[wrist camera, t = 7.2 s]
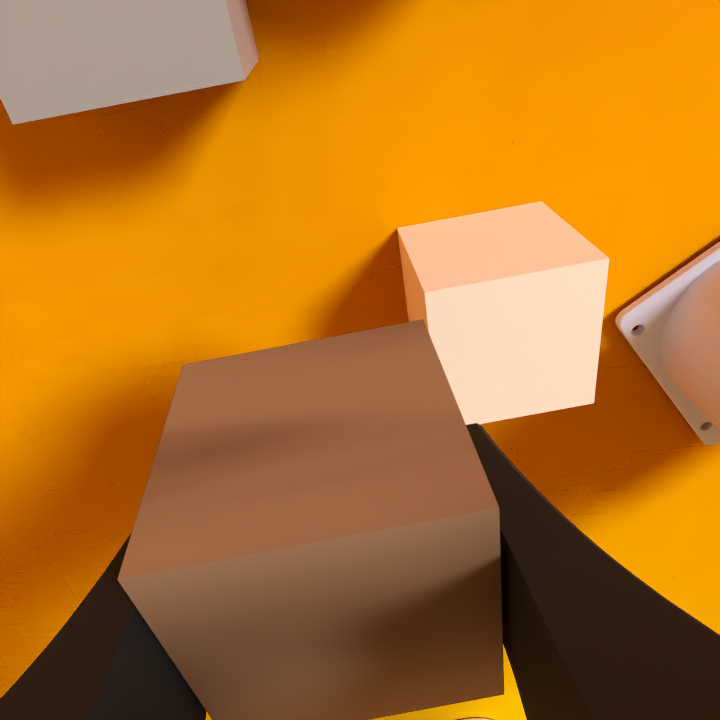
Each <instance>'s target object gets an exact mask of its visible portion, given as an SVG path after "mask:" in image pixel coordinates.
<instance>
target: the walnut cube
mask: <svg viewBox="0 0 720 720" xmlns="http://www.w3.org/2000/svg"><path fill="white" fill-rule="evenodd" d="M117 580H118V581H119V583H120V584H121V586H122V587H123V589H124V590H125V592H126V593H127V595H128V596H129V597H130V599H131V600H132V602H133V603H134V605H135V606H136V608H137V609H138V611H139V612H140V614H141V615H142V617H143V618H144V620H145V621H146V623H147V624H148V625H149V627H150V628H151V630H152V631H153V633H154V634H155V636H156V637H157V639H158V640H159V642H160V643H161V645H162V646H163V648H164V649H165V651H166V652H167V653H168V655H169V656H170V658H171V659H172V661H173V662H174V664H175V665H176V667H177V668H178V670H179V671H180V673H181V674H182V676H183V677H184V679H185V680H186V681H187V683H188V684H189V686H190V687H191V689H192V690H193V692H194V693H195V695H196V696H197V698H198V699H199V701H200V702H201V704H202V705H203V707H204V708H205V709H206V711H207V712H208V714H209V715H210V717H211V718H212V720H369V719H374V718H380V717H385V716H390V715H396V714H401V713H407V712H412V711H417V710H423V709H428V708H433V707H439V706H444V705H449V704H455V703H460V702H465V701H471V700H476V699H482V698H487V697H492V696H498V695H503V694H504V671H503V633H502V594H501V556H500V518H499V506H498V503H497V501H496V498H495V496H494V494H493V491H492V489H491V486H490V484H489V481H488V479H487V476H486V474H485V471H484V469H483V466H482V464H481V461H480V459H479V456H478V454H477V451H476V449H475V446H474V444H473V441H472V439H471V436H470V434H469V432H468V429H467V427H466V424H465V422H464V419H463V417H462V414H461V412H460V409H459V407H458V404H457V402H456V399H455V397H454V394H453V392H452V389H451V387H450V384H449V382H448V379H447V377H446V375H445V372H444V370H443V367H442V365H441V362H440V360H439V357H438V355H437V352H436V350H435V347H434V345H433V342H432V340H431V337H430V335H429V332H428V330H427V327H426V325H425V322H424V320H423V319H422V320H417V321H411V322H406V323H401V324H396V325H390V326H385V327H380V328H374V329H369V330H364V331H359V332H353V333H348V334H343V335H338V336H332V337H327V338H322V339H317V340H311V341H306V342H301V343H296V344H290V345H285V346H280V347H275V348H269V349H264V350H259V351H254V352H248V353H243V354H238V355H233V356H227V357H222V358H217V359H212V360H206V361H201V362H196V363H191V364H185V365H183V367H182V370H181V373H180V377H179V380H178V383H177V386H176V390H175V393H174V396H173V400H172V403H171V406H170V409H169V413H168V416H167V419H166V422H165V426H164V429H163V432H162V435H161V439H160V442H159V445H158V449H157V452H156V455H155V458H154V462H153V465H152V468H151V471H150V475H149V478H148V481H147V485H146V488H145V491H144V494H143V498H142V501H141V504H140V507H139V511H138V514H137V517H136V520H135V524H134V527H133V530H132V534H131V537H130V540H129V543H128V547H127V550H126V553H125V556H124V560H123V563H122V566H121V570H120V573H119V576H118V579H117Z"/></svg>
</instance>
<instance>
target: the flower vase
mask: <svg viewBox="0 0 720 720" xmlns="http://www.w3.org/2000/svg"><path fill="white" fill-rule="evenodd" d="M462 720H492V719H486V718H469V719H462Z"/></svg>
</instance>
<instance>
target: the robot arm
mask: <svg viewBox="0 0 720 720" xmlns="http://www.w3.org/2000/svg"><path fill="white" fill-rule="evenodd" d="M615 324H616V326H617V328H618V329H619V330H620V332H621V333H622V334H623V336H624V337H625V338H626V340H627V341H628V342H629V344H630V345H631V346H632V348H633V349H634V351H635V352H636V353H637V355H638V356H639V357H640V359H641V360H642V361H643V363H644V364H645V365H646V367H647V368H648V370H649V371H650V372H651V374H652V375H653V376H654V378H655V379H656V380H657V382H658V383H659V384H660V386H661V387H662V388H663V390H664V391H665V393H666V394H667V395H668V397H669V398H670V399H671V401H672V402H673V403H674V405H675V406H676V407H677V409H678V410H679V412H680V413H681V414H682V416H683V417H684V418H685V420H686V421H687V422H688V424H689V425H690V426H691V428H692V429H693V430H694V432H695V433H696V435H697V436H698V437H699V439H700V440H701V441H702V442H703V443H704V444H705V445H715V444H717V443H719V442H720V241H719V242H718V243H717V244H715V245H714V246H712V247H711V248H709V249H708V250H707V251H705V252H704V253H702V254H701V255H699V256H698V257H697V258H695V259H694V260H692V261H691V262H690V263H688V264H687V265H685V266H684V267H682V268H681V269H680V270H678V271H677V272H675V273H674V274H673V275H671V276H670V277H668V278H667V279H665V280H664V281H663V282H661V283H660V284H658V285H657V286H655V287H654V288H653V289H651V290H650V291H648V292H647V293H646V294H644V295H643V296H641V297H640V298H638V299H637V300H636V301H634V302H633V303H631V304H630V305H629V306H627V307H626V308H624V309H623V310H622V311H621V312H619V313H618V315H617V317H616V319H615ZM637 325H639V327H638V328H637V329H636V330H634V331H632V329H633V328H634V327H635V326H637ZM466 427H467V429H468V432H469V434H470V436H471V439H472V441H473V444H474V446H475V449H476V451H477V454H478V456H479V459H480V461H481V464H482V466H483V469H484V471H485V474H486V476H487V479H488V481H489V484H490V486H491V489H492V491H493V494H494V496H495V498H496V501H497V503H498V506H499V518H500V556H501V594H502V633H503V645H504V647H505V650H506V653H507V656H508V659H509V661H510V664H511V667H512V670H513V673H514V676H515V680H516V683H517V687H518V690H519V694H520V697H521V701H522V704H523V708H524V711H525V715H526V718H527V720H720V635H719V634H717V633H716V632H714V631H713V630H712V629H710V628H709V627H707V626H706V625H704V624H703V623H701V622H700V621H698V620H697V619H695V618H694V617H692V616H691V615H689V614H688V613H686V612H685V611H683V610H682V609H680V608H679V607H677V606H676V605H674V604H673V603H672V602H670V601H669V600H667V599H666V598H664V597H663V596H661V595H660V594H659V593H657V592H656V591H655V590H653V589H652V588H651V587H649V586H648V585H647V584H645V583H644V582H643V581H641V580H640V579H639V578H637V577H636V576H635V575H633V574H632V573H631V572H630V571H628V570H627V569H626V568H624V567H623V566H622V565H621V564H619V563H618V562H617V561H616V560H614V559H613V558H612V557H611V556H609V555H608V554H607V553H606V552H605V551H603V550H602V549H601V548H600V547H599V546H597V545H596V544H595V543H594V542H593V541H592V540H590V539H589V538H588V537H587V536H586V535H585V534H584V533H582V532H581V531H580V530H579V529H578V528H577V527H576V526H575V525H574V524H572V523H571V522H570V521H569V520H568V519H567V518H566V517H565V516H564V515H563V514H562V513H561V512H559V511H558V510H557V509H556V508H555V507H554V506H553V505H552V504H551V503H550V502H549V501H548V500H547V499H546V498H545V497H544V496H543V495H542V494H541V493H540V492H539V491H538V490H537V489H536V488H535V487H534V486H533V485H532V484H531V483H530V482H529V481H528V480H527V479H526V478H525V476H524V475H523V474H522V473H521V472H520V471H519V470H518V469H517V468H516V467H515V466H514V464H513V463H512V462H511V461H510V460H509V459H508V458H507V457H506V455H505V454H504V453H503V452H502V451H501V450H500V448H499V447H498V446H497V445H496V444H495V442H494V441H493V440H492V439H491V437H490V436H489V435H488V434H487V432H486V431H485V430H484V428H483V427H482V426H481V425H479V424H477V423H473V424H468V425H466ZM131 534H132V533H131ZM131 534H130V535H129V537H128V538H127V540H126V541H125V543H124V544H123V546H122V547H121V549H120V550H119V551H118V553H117V554H116V556H115V557H114V559H113V560H112V562H111V563H110V564H109V566H108V567H107V569H106V570H105V572H104V573H103V574H102V576H101V577H100V579H99V580H98V581H97V583H96V584H95V585H94V587H93V588H92V589H91V591H90V592H89V593H88V595H87V596H86V597H85V599H84V600H83V601H82V603H81V604H80V605H79V607H78V608H77V609H76V611H75V612H74V613H73V614H72V616H71V617H70V618H69V620H68V621H67V622H66V624H65V625H64V626H63V627H62V629H61V630H60V631H59V632H58V634H57V635H56V636H55V637H54V639H53V640H52V641H51V642H50V643H49V645H48V646H47V647H46V648H45V649H44V651H43V652H42V653H41V654H40V655H39V656H38V658H37V659H36V660H35V661H34V662H33V663H32V664H31V666H30V667H29V668H28V669H27V670H26V671H25V672H24V674H23V675H22V676H21V677H20V678H19V679H18V680H17V682H16V683H15V684H14V685H13V686H12V687H11V688H10V689H9V690H8V691H7V692H6V694H5V695H4V696H3V697H2V698H1V699H0V720H205V718H206V709H205V708H204V707H203V705H202V704H201V702H200V701H199V699H198V698H197V696H196V695H195V693H194V692H193V690H192V689H191V687H190V686H189V684H188V683H187V681H186V680H185V679H184V677H183V676H182V674H181V673H180V671H179V670H178V668H177V667H176V665H175V664H174V662H173V661H172V659H171V658H170V656H169V655H168V653H167V652H166V651H165V649H164V648H163V646H162V645H161V643H160V642H159V640H158V639H157V637H156V636H155V634H154V633H153V631H152V630H151V628H150V627H149V625H148V624H147V623H146V621H145V620H144V618H143V617H142V615H141V614H140V612H139V611H138V609H137V608H136V606H135V605H134V603H133V602H132V600H131V599H130V597H129V596H128V595H127V593H126V592H125V590H124V589H123V587H122V586H121V584H120V583H119V581H118V580H117V579H118V576H119V573H120V570H121V566H122V563H123V560H124V556H125V553H126V550H127V547H128V543H129V540H130V537H131Z"/></svg>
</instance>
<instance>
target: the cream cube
mask: <svg viewBox="0 0 720 720" xmlns="http://www.w3.org/2000/svg"><path fill="white" fill-rule="evenodd" d="M397 232H398V240H399V248H400V256H401V264H402V272H403V280H404V288H405V296H406V304H407V312H408V320H409V322H411V321H417V320H422V319H423V320H424V322H425V325H426V327H427V330H428V332H429V335H430V337H431V340H432V342H433V345H434V347H435V350H436V352H437V355H438V357H439V360H440V362H441V365H442V367H443V370H444V372H445V375H446V377H447V379H448V382H449V384H450V387H451V389H452V392H453V394H454V397H455V399H456V402H457V404H458V407H459V409H460V412H461V414H462V417H463V419H464V422H465V424H466V425H468V424H473V423H477V424H483V423H489V422H494V421H499V420H505V419H510V418H516V417H521V416H527V415H532V414H538V413H543V412H549V411H554V410H560V409H565V408H571V407H576V406H582V405H587V404H593V403H594V398H595V388H596V379H597V369H598V360H599V350H600V341H601V332H602V322H603V313H604V303H605V294H606V284H607V275H608V266H609V258H608V257H607V256H606V255H605V254H603V253H602V252H601V251H600V250H599V249H597V248H596V247H595V246H594V245H593V244H591V243H590V242H589V241H588V240H587V239H586V238H584V237H583V236H582V235H581V234H580V233H578V232H577V231H576V230H575V229H574V228H572V227H571V226H570V225H569V224H568V223H567V222H565V221H564V220H563V219H562V218H561V217H559V216H558V215H557V214H556V213H555V212H553V211H552V210H551V209H550V208H549V207H548V206H546V205H545V204H544V203H543V202H542V201H541V202H535V203H530V204H524V205H519V206H514V207H508V208H503V209H498V210H492V211H487V212H481V213H476V214H471V215H465V216H460V217H455V218H449V219H444V220H438V221H433V222H428V223H422V224H417V225H412V226H406V227H401V228H397Z"/></svg>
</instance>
